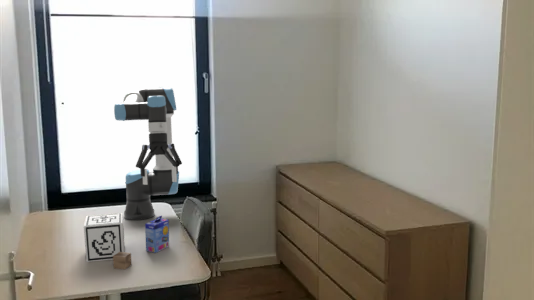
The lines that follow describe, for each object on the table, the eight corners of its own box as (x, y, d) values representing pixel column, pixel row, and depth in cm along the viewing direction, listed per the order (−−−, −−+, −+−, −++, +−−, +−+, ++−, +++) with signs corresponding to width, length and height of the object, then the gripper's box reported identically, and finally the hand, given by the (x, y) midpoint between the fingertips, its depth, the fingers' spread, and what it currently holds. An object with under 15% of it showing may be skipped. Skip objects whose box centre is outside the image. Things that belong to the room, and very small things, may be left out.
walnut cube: (120, 263, 233) (119, 251, 232) (131, 264, 231) (130, 252, 231) (113, 268, 228) (112, 256, 227) (125, 269, 227) (124, 257, 226)
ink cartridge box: (155, 253, 243) (154, 219, 241) (145, 251, 246) (143, 218, 243) (170, 246, 252) (168, 213, 250) (160, 244, 255) (158, 212, 252)
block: (86, 262, 235) (83, 226, 233) (88, 249, 250) (86, 215, 247) (124, 258, 239) (122, 222, 236) (124, 246, 253) (122, 212, 250)
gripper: (133, 133, 236) (136, 186, 236) (188, 131, 251) (190, 181, 251) (126, 133, 242) (128, 185, 242) (179, 132, 257) (181, 180, 257)
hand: (160, 183), depth 247 cm, fingers open, 13 cm apart
